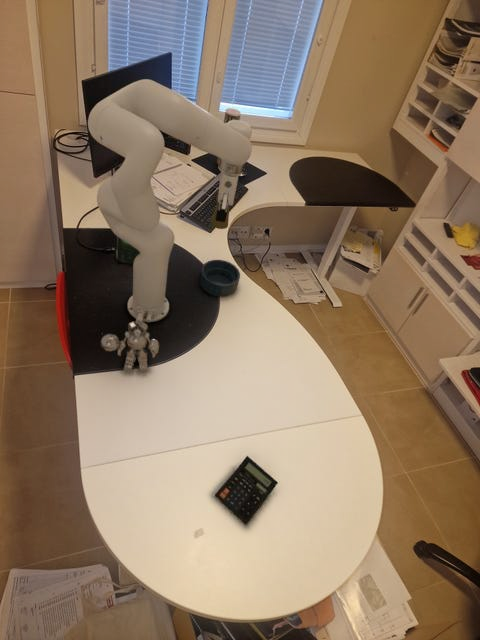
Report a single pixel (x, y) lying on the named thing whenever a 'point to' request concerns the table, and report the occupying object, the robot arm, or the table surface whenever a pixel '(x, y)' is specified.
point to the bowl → (219, 277)
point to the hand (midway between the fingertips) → (220, 216)
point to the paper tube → (230, 118)
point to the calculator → (246, 490)
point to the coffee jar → (126, 252)
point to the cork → (217, 223)
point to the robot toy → (132, 345)
